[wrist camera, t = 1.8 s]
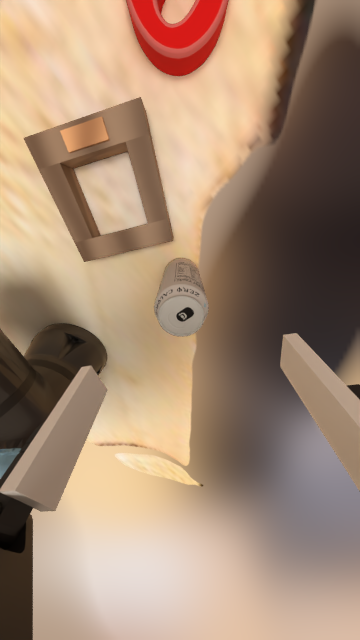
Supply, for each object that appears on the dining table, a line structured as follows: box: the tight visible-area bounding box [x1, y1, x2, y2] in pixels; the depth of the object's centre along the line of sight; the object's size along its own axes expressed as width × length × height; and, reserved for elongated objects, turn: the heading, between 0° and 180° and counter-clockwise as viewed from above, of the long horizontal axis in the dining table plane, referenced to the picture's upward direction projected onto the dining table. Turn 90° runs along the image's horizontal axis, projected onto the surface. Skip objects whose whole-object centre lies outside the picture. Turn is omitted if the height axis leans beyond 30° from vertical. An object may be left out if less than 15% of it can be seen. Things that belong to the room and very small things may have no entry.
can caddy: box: [24, 97, 173, 262], centre depth 24 cm, size 14×14×3 cm
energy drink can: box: [154, 258, 209, 336], centre depth 24 cm, size 6×6×15 cm
